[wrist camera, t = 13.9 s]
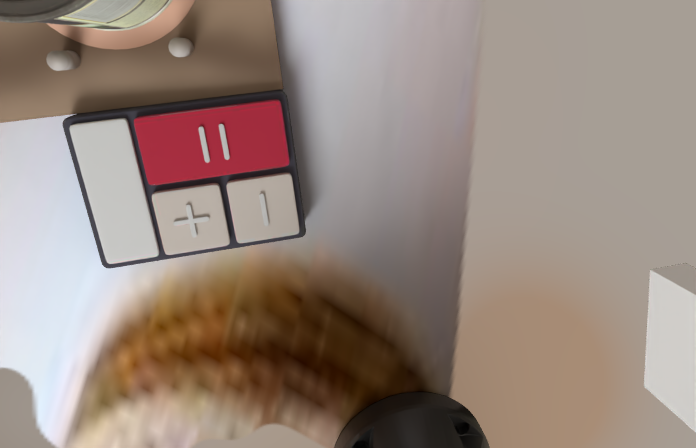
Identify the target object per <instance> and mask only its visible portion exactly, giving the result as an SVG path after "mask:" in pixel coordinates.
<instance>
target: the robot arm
mask: <svg viewBox="0 0 696 448" xmlns="http://www.w3.org/2000/svg"><path fill="white" fill-rule="evenodd" d="M644 387H645V388H646V389H648V390H649V391H650V392H651V393H652V394H653V395H654V396H655V397H656V398H658V399H659V400H660V401H661V402H662V403H663V404H664V405H665V406H667V407H668V408H669V409H670V410H671V411H672V412H673V413H674V414H676V415H677V416H678V417H679V418H680V419H681V420H682V421H684V422H685V423H686V424H687V425H688V426H689V427H690V428H691V429H693V430H694V431H695V432H696V268H695V267H693V266H691V265H689V264H687V263H683V264H678V265H672V266H667V267H661V268H656V269H651V270H650V281H649V300H648V320H647V340H646V358H645V377H644ZM335 448H489V444H488V442H487V439H486V437H485V435H484V433H483V431H482V429H481V427H480V425H479V424H478V422H477V420H476V418H475V417H474V416H473V414H471V412H470V411H469V410H468V409H467V408H465V407H464V406H463V405H462V404H460V403H458V402H457V401H455V400H453V399H451V398H449V397H446V396H443V395H439V394H435V393H428V392H411V393H403V394H398V395H394V396H391V397H388V398H385V399H383V400H380V401H378V402H376V403H374V404H372V405H371V406H369V407H367V408H366V409H364V410H363V411H362V412H360V413H359V414H358V415H357V416H355V417H354V418H353V419H352V420H351V421H350V423H349V424H348V425H347V426H346V427H345V429H344V430H343V431H342V433H341V435H340V436H339V438H338V440H337V442H336V445H335Z"/></svg>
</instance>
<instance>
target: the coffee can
mask: <svg viewBox="0 0 696 448" xmlns="http://www.w3.org/2000/svg"><path fill="white" fill-rule="evenodd" d="M171 2H172V0H0V21H2V22H10V23H33V22H39V23H50V24H59V25H70V26H79V27H86V28H93V29H98V30H104V31H123V30H130V29H134V28H137V27H140V26H142V25H144V24H146V23H148V22H150V21H152V20H153V19H155V18H156V17H157V16H159V15H160V14H161V13H162V12H163V11H164V10H165V9H166V8H167V7H168V6H169V4H170V3H171Z"/></svg>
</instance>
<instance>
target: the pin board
mask: <svg viewBox="0 0 696 448" xmlns="http://www.w3.org/2000/svg"><path fill="white" fill-rule="evenodd" d="M279 89H283V83H282V76H281V69H280V61H279V54H278V47H277V40H276V33H275V26H274V19H273V12H272V5H271V0H172V2H171V3H170V4H169V6H168V7H167V8H166V9H165V10H164V11H163V12H162V13H161V14H160V15H159V16H157V17H156V18H155V19H153V20H152V21H150V22H148V23H146V24H144V25H142V26H140V27H137V28H134V29H130V30H123V31H104V30H98V29H93V28H86V27H79V26H70V25H59V24H50V23H39V22H33V23H10V22H2V21H0V123H2V122H11V121H19V120H28V119H36V118H44V117H53V116H61V115H70V114H78V113H86V112H95V111H103V110H112V109H120V108H128V107H137V106H145V105H153V104H162V103H170V102H179V101H187V100H195V99H204V98H212V97H221V96H229V95H237V94H246V93H254V92H263V91H271V90H279Z"/></svg>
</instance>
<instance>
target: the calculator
mask: <svg viewBox="0 0 696 448" xmlns="http://www.w3.org/2000/svg"><path fill="white" fill-rule="evenodd" d="M63 128H64V132H65V135H66V139H67V142H68V146H69V149H70V153H71V156H72V160H73V163H74V167H75V170H76V174H77V177H78V181H79V184H80V188H81V191H82V195H83V199H84V202H85V206H86V209H87V213H88V216H89V220H90V223H91V227H92V230H93V234H94V237H95V241H96V244H97V248H98V251H99V255H100V258H101V262H102V265H103V266H104V267H106V268H115V267H121V266H127V265H134V264H140V263H146V262H152V261H158V260H164V259H170V258H177V257H183V256H189V255H195V254H201V253H207V252H213V251H219V250H226V249H232V248H238V247H244V246H250V245H256V244H262V243H269V242H275V241H281V240H287V239H293V238H299V237H303V236H304V235H305V233H306V228H305V221H304V214H303V207H302V199H301V192H300V185H299V178H298V171H297V164H296V157H295V150H294V143H293V136H292V129H291V121H290V114H289V107H288V100H287V96H286V94H285V93H284V92H283V91H282V90H281V89H279V90H271V91H263V92H254V93H246V94H237V95H229V96H221V97H212V98H204V99H195V100H187V101H179V102H170V103H162V104H153V105H145V106H137V107H128V108H120V109H112V110H103V111H95V112H86V113H78V114H76V115H73V116H70V117H68V118H66V119H64V121H63Z"/></svg>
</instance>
